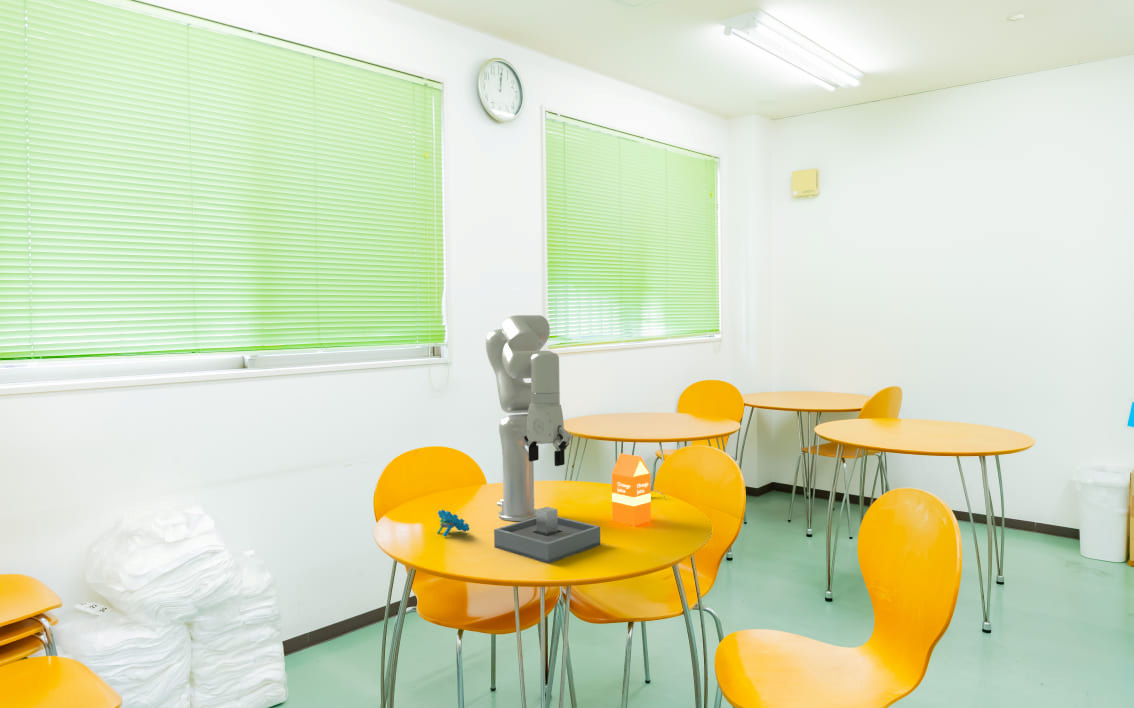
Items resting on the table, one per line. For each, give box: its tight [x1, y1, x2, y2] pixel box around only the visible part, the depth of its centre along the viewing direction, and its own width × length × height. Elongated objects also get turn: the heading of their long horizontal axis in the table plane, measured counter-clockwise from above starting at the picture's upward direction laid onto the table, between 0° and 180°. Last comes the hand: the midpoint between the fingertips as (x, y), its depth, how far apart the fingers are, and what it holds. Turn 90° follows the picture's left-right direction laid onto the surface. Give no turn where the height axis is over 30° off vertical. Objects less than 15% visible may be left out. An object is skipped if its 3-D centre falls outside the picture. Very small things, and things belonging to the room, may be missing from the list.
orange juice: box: [611, 453, 652, 527], centre depth 212 cm, size 8×9×20 cm
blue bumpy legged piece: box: [436, 509, 471, 538], centre depth 200 cm, size 11×6×10 cm
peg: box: [536, 506, 559, 536], centre depth 189 cm, size 4×4×9 cm
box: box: [493, 516, 601, 565], centre depth 189 cm, size 20×20×5 cm
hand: (546, 462), depth 189 cm, fingers open, 9 cm apart
